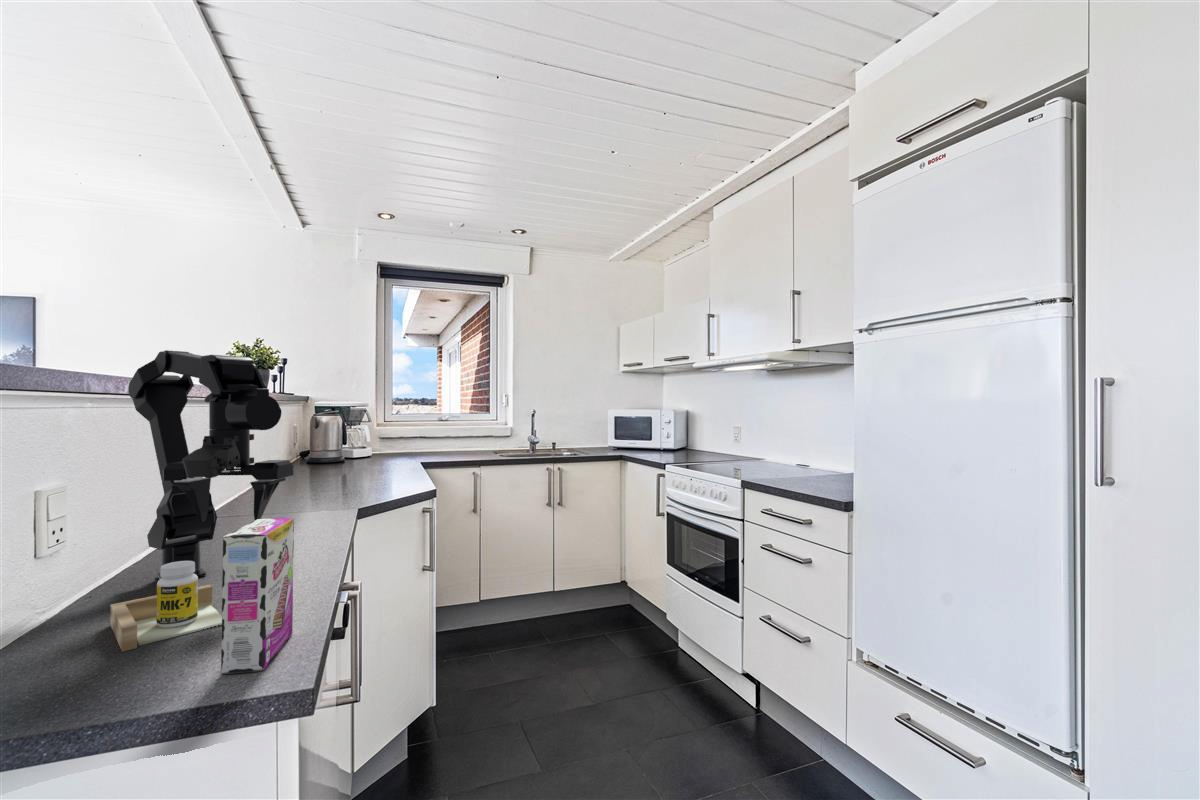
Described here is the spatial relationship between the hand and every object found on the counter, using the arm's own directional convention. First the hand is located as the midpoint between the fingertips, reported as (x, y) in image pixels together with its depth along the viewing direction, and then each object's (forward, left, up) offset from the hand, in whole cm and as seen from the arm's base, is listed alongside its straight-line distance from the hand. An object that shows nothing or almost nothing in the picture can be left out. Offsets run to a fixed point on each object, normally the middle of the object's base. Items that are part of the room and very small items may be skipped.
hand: (230, 520), depth 95 cm
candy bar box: (+30, -4, -12) cm, 33 cm away
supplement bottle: (+11, -9, -12) cm, 18 cm away
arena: (+11, -9, -12) cm, 19 cm away
